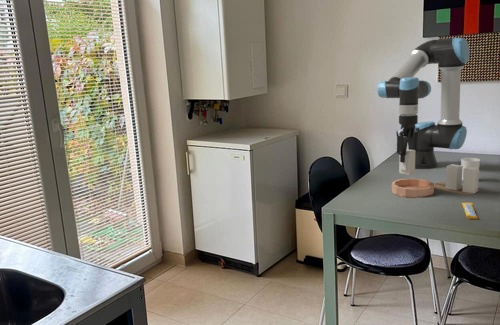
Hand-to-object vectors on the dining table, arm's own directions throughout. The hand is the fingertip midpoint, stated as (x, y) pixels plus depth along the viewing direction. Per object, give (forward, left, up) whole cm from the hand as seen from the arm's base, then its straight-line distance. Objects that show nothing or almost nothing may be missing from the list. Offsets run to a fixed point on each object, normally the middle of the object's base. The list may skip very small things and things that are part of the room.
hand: (406, 168), depth 198 cm
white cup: (-33, +11, -10) cm, 37 cm away
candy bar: (+8, +32, -11) cm, 35 cm away
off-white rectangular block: (-15, +13, -10) cm, 22 cm away
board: (-15, +13, -10) cm, 23 cm away
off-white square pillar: (-15, +20, -10) cm, 27 cm away
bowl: (0, +3, -10) cm, 11 cm away
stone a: (0, 0, -2) cm, 2 cm away
